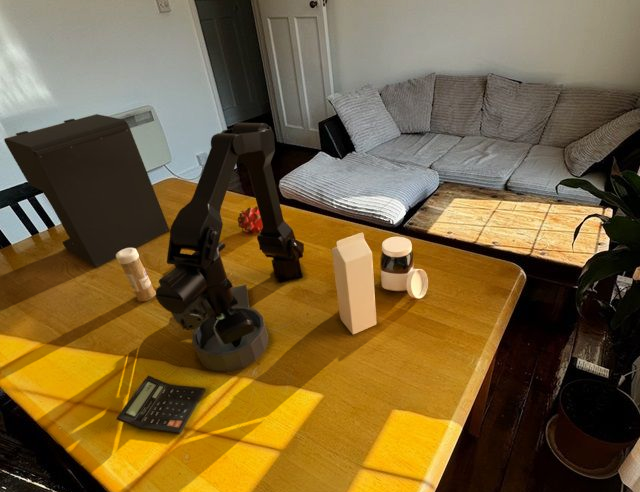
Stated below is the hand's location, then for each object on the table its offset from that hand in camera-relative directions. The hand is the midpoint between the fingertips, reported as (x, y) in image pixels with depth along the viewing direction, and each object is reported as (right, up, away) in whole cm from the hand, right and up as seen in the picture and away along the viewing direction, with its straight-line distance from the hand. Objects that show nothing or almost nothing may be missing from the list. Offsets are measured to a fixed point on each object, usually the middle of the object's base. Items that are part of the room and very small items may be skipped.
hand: (231, 338), depth 87 cm
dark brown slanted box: (-48, +25, +45) cm, 70 cm away
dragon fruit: (-5, +27, +43) cm, 51 cm away
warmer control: (-6, +5, +12) cm, 14 cm away
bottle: (0, -2, +1) cm, 2 cm away
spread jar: (+38, +10, +14) cm, 42 cm away
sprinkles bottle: (-27, +8, +18) cm, 33 cm away
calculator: (-9, -11, -10) cm, 18 cm away
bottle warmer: (0, -2, +1) cm, 2 cm away
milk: (+27, +3, +5) cm, 27 cm away
